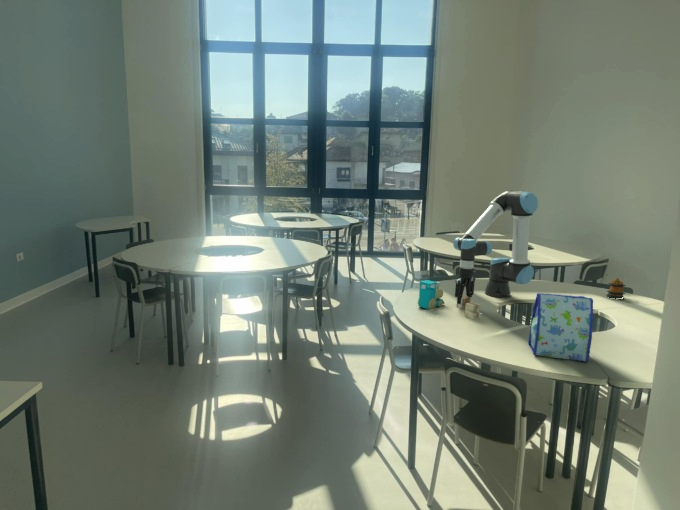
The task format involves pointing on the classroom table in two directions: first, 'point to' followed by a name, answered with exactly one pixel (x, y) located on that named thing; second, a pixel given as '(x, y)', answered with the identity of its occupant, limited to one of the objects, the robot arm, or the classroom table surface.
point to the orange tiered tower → (616, 289)
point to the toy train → (430, 295)
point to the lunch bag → (562, 326)
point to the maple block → (472, 310)
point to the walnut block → (465, 301)
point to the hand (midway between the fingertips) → (463, 308)
